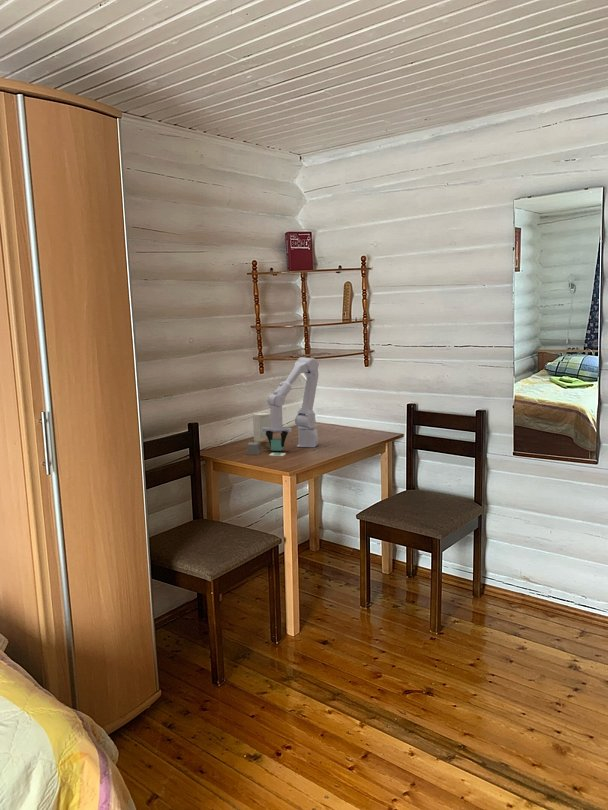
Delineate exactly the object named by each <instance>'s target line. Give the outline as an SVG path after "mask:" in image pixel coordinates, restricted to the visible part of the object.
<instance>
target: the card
mask: <svg viewBox="0 0 608 810" xmlns="http://www.w3.org/2000/svg"><path fill="white" fill-rule="evenodd" d="M286 454H287V453H286V452H271V453H270V454H269V455H268V456H269V457H270V456H271V457H272V456H273V457H284V456H286Z"/></svg>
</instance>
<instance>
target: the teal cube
mask: <svg viewBox="0 0 608 810" xmlns="http://www.w3.org/2000/svg"><path fill="white" fill-rule="evenodd" d="M281 442H282V440H281V437H273V439H272V440H271V449H270V451H273V452H274V451H276V452H279V451H280V452H281V451H283V449H284V448H285V446H284V447H282V445H281Z"/></svg>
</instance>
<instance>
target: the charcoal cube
mask: <svg viewBox="0 0 608 810" xmlns="http://www.w3.org/2000/svg"><path fill="white" fill-rule="evenodd" d="M246 453H247V455H249V456H251V455H252V456H258V455H259V454H261V449H260V442H254V441H250V442H248V443H246Z"/></svg>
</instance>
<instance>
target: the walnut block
mask: <svg viewBox="0 0 608 810" xmlns="http://www.w3.org/2000/svg"><path fill="white" fill-rule="evenodd" d="M257 442H260V450H271V447H270V443H269V440H268V438H262V439H260V440H259V441H257Z"/></svg>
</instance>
